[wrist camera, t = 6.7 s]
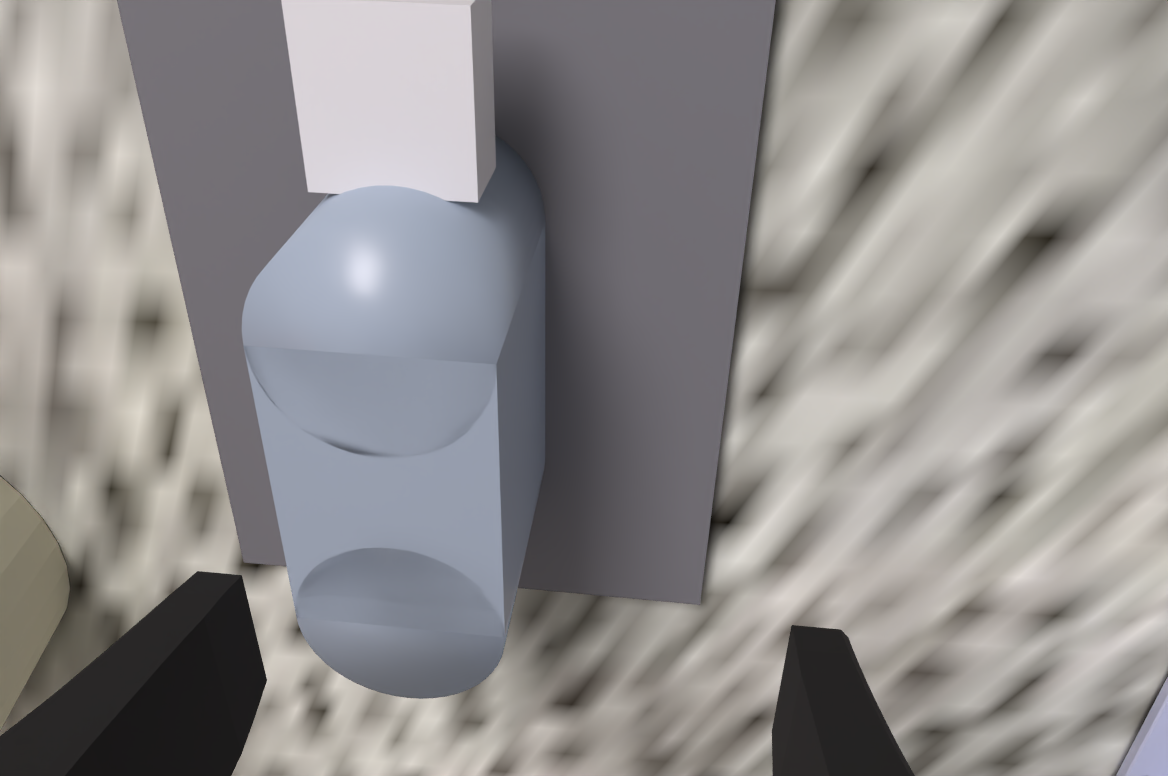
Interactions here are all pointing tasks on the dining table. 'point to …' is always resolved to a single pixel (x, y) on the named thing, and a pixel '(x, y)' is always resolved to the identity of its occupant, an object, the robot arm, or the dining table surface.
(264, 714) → the dining table surface
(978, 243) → the dining table surface
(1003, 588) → the dining table surface
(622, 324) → the mat
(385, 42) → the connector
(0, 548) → the reusable coffee cup
